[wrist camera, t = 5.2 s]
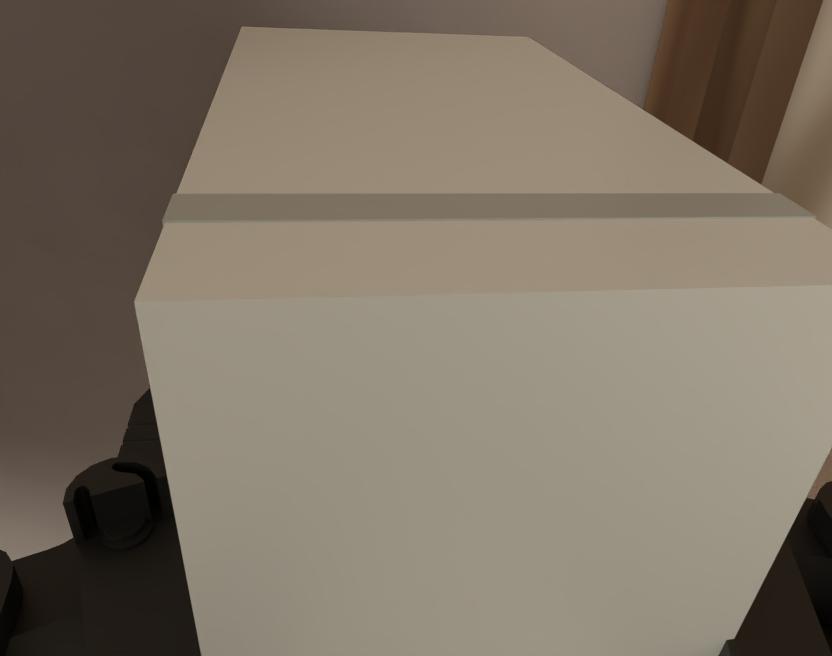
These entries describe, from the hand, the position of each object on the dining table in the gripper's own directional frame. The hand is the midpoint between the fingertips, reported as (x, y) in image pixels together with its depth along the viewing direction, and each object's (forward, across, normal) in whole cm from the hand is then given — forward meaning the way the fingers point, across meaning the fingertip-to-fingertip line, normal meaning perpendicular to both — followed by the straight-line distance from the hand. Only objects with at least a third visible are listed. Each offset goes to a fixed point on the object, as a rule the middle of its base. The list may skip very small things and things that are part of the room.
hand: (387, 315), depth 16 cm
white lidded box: (+1, 0, 0) cm, 1 cm away
